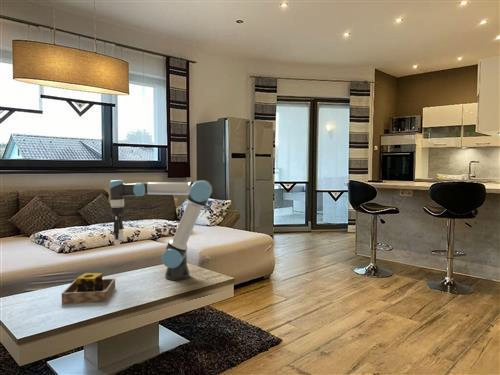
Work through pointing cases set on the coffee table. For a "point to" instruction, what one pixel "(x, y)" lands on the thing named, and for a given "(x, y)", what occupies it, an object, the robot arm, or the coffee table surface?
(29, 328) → the coffee table surface
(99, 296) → the crate
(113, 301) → the coffee table surface
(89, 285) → the candle
